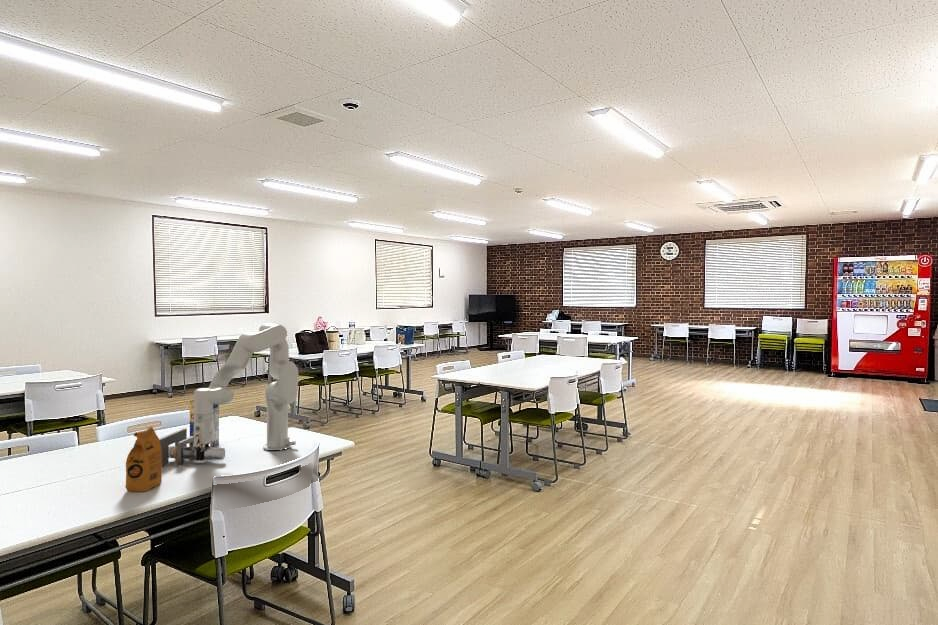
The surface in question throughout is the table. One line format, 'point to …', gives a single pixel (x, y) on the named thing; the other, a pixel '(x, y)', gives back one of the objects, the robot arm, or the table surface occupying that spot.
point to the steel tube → (191, 453)
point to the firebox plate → (169, 440)
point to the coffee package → (144, 462)
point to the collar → (180, 449)
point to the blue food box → (215, 418)
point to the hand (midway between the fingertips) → (203, 458)
